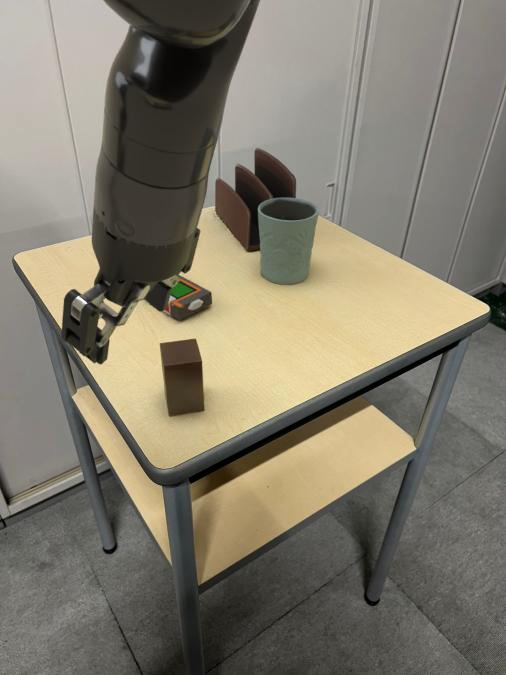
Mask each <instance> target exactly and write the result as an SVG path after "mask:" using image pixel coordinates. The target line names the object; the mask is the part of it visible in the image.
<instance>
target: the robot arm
mask: <svg viewBox="0 0 506 675" xmlns="http://www.w3.org/2000/svg"><path fill="white" fill-rule="evenodd" d="M102 1H103V2H104V4H106V6H107V7H108V8H109V9H111V10H112V11H113V12H114V13H115V14H116V15H117V16H118V17H119V18H120V19H121V20H123V21H124V22H126V24H128V25H129V26H128V30H127V33H126V35H125V38H124V39H123V42H122V44H121V46H120V47H119V49H118V51H117V53H116V55H115V56H114V59H113V60H112V63H111V66H110V67H109V68H110V69H109V72H108V76H107V80H106V86H105V95H104V106H103V107H104V108H103V122H102V137H101V144H100V150H99V155H98V158H97V161H96V167H95V168H96V169H95V175H94V176H95V177H94V193H93V208H92V209H93V211H92V223H91V224H92V225H91V226H92V227H91V247H92V250H93V253H94V256H95V258H96V261H97V263H98V267H99V268H98V271H97V274H96V276H95V278H94V281H93V286H92V287H90V288H89V289H88V290H86V291H85V292H84V293H81V292H80V291H78V290H77V289H75V288H72V289H70V290H69V291H67V293H66V294H65V296H64V297H63V307H62V319H61V321H62V323H61V334H60V338H61V340H63V341H64V342H65V343H68V344H69V345H70V346H71V347H72V348H74V349H75V350H76V351H77V352H78V353H79V354H80V355H82V357H84V358H85V357H86V358H87V360H89V361H90V362H92V363H93V364H96V363H97V364H98V365H103V364H104V363H105V362H106V361H107V360H108V356H109V349H110V343H111V342H110V338H112V335H113V334H114V331H115V330H116V328H117V327H121V326H124V325H126V323H127V322H128V320H129V318H130V317H131V315H132V313H133V312H134V310H135V308H136V307H137V305H138V304H139V302H142V301H144V300H145V301H146V302H147V303H148V304H149V305H150V306H152V307H153V308H154V309H156V310H157V311H158V312H159V313H163V311H164V310H165V309H166V308H167V306H168V302H169V298H170V295H171V291H172V288H173V287H174V286H176V285H177V283H178V281H179V277H178V275H180V274H181V273H182V274H185V275H186V274H187V273H188V272H190V271H191V269H192V266H193V263H194V258H195V255H196V251H197V247H198V243H199V239H200V235H201V229H200V228H198V225H199V222H200V218H201V214H202V211H203V208H204V204H205V200H206V197H207V191H208V183H209V174H210V169H211V165H212V161H213V159H214V154H215V150H216V147H217V143H218V140H219V136H220V134H221V128H222V125H223V119H224V114H225V107H226V103H227V99H228V94H229V90H230V87H231V83H232V80H233V77H234V75H235V71H236V69H237V66H238V63H239V62H240V58H241V56H242V53H243V50H244V47H245V44H246V41H247V39H248V37H249V33H250V31H251V28H252V25H253V22H254V20H255V18H256V14H257V11H258V7H259V6H260V3H261V0H102ZM146 294H147V296H146ZM145 296H146V299H144V298H145ZM104 300H107V301H109V302H110V303H113V304H115V305H117V306H120V307H121V308H120V310H119V311H118V312H117V311H115V309H113V308H112V307H111V306H110V305H108V304H107V303H105V301H104ZM100 319H102V320H103V321H104V322H105V324H104V326H103V328H100V327H99V320H100Z"/></svg>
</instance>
